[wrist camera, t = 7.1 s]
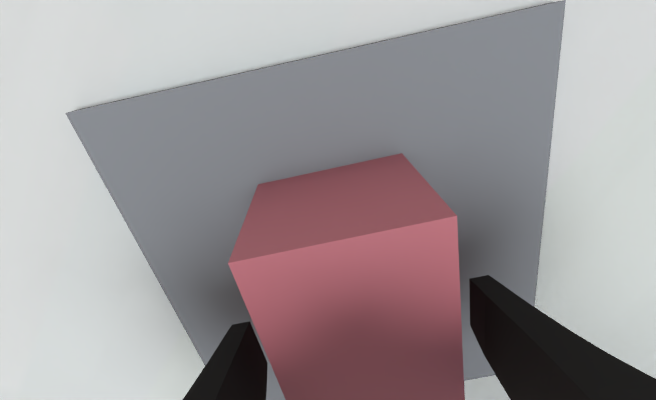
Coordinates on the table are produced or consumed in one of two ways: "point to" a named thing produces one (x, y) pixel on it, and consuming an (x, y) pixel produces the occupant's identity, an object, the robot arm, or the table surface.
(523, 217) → the desk mat
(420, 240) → the pink and white block
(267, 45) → the table surface
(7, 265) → the table surface
